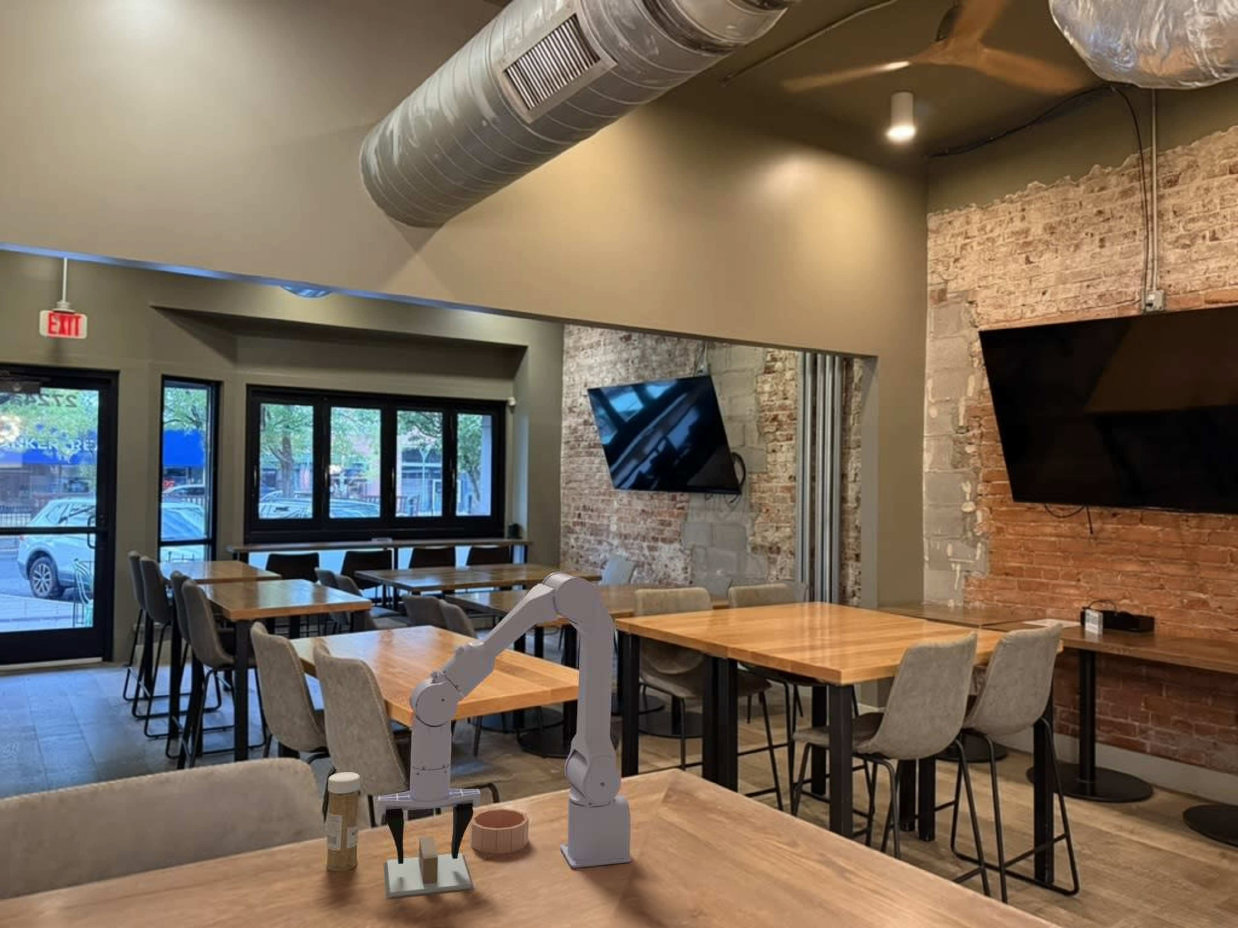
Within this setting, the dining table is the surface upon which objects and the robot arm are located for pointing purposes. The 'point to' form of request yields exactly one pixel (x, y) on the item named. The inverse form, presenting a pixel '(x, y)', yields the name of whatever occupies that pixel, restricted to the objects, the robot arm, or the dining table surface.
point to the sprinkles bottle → (342, 821)
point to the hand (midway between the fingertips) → (427, 858)
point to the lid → (427, 872)
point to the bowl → (499, 831)
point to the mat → (423, 893)
